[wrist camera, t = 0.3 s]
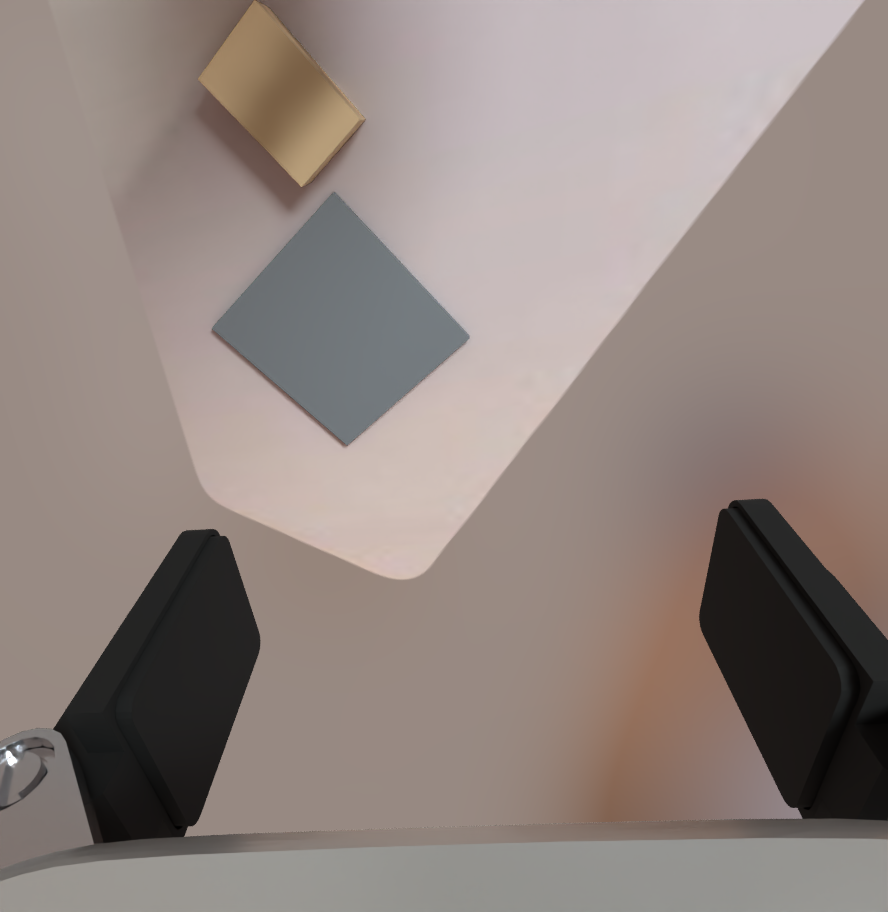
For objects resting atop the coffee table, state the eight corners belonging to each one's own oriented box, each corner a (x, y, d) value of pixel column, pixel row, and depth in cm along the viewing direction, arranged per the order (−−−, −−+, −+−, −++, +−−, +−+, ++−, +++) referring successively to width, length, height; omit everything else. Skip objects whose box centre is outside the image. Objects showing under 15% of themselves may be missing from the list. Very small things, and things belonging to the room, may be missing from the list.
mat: (214, 326, 45) (211, 328, 45) (334, 191, 40) (332, 192, 40) (348, 442, 50) (346, 445, 50) (469, 335, 45) (469, 338, 45)
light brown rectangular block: (216, 81, 37) (197, 79, 35) (270, 8, 35) (254, -1, 33) (311, 182, 40) (301, 187, 38) (366, 119, 38) (359, 119, 36)
